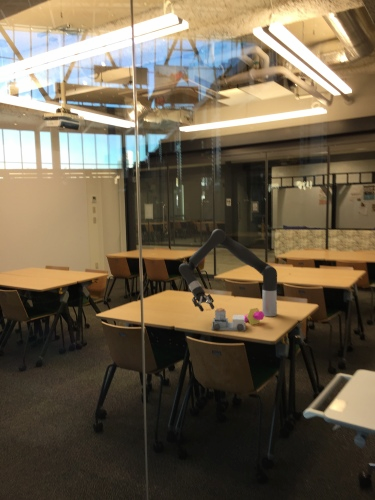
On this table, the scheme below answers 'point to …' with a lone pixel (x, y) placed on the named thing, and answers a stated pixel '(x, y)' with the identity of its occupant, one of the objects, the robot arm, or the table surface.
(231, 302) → the table surface
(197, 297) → the robot arm
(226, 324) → the chassis
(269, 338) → the table surface
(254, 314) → the toy
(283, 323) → the table surface
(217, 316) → the engine block
